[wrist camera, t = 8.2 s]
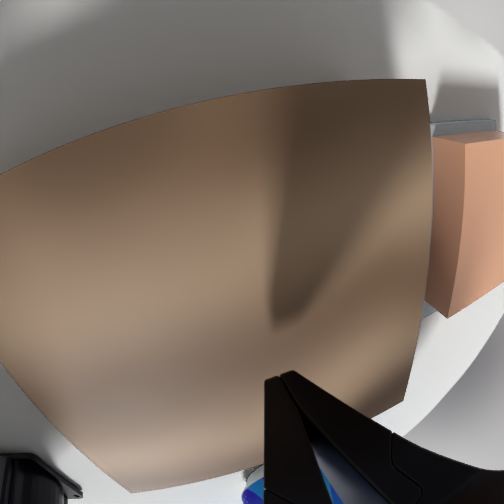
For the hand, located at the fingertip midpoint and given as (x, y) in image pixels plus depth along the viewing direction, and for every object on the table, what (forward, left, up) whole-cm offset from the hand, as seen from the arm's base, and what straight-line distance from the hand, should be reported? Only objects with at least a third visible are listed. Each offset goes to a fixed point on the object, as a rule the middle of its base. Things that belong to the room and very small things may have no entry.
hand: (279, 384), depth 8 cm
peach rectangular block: (0, -13, -3) cm, 13 cm away
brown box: (0, +1, -5) cm, 5 cm away
